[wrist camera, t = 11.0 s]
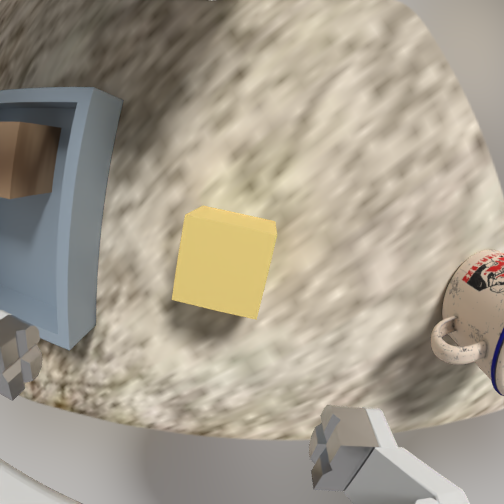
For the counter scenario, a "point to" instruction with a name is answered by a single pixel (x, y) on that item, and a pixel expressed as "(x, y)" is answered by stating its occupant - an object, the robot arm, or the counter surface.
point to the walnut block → (27, 158)
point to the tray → (58, 213)
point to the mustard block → (224, 261)
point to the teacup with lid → (475, 317)
